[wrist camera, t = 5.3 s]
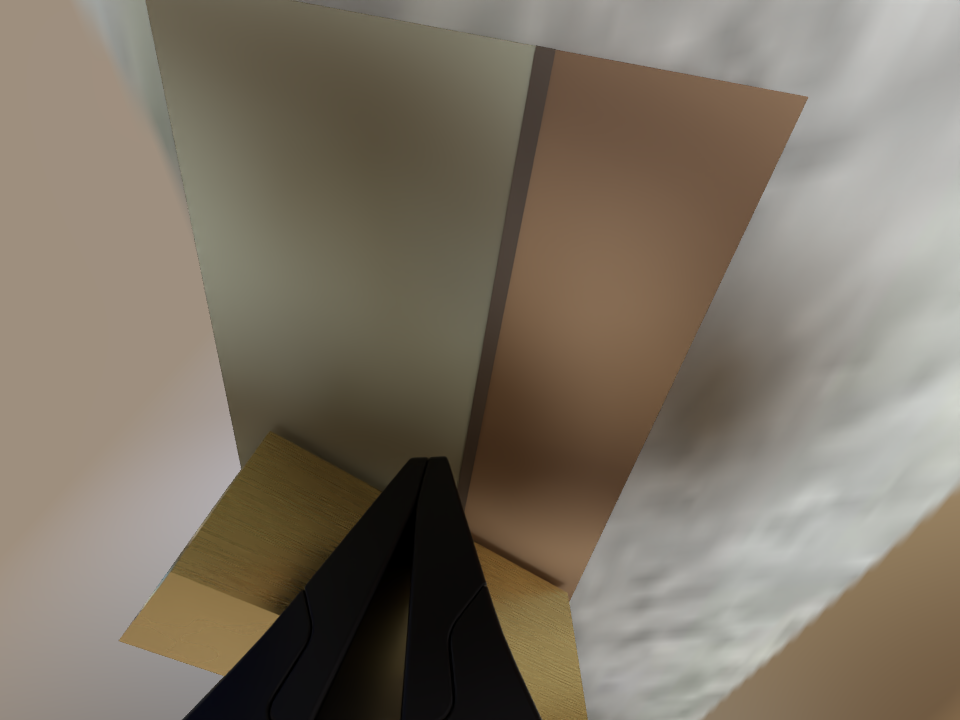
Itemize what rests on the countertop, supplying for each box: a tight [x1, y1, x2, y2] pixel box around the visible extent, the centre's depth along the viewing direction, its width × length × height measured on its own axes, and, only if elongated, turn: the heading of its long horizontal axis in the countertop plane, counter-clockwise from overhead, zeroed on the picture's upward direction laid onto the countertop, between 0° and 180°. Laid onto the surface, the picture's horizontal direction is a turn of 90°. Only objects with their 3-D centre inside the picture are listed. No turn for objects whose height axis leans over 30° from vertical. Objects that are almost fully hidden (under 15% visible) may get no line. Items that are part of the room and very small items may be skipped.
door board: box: [146, 0, 808, 601], centre depth 11 cm, size 18×10×1 cm, turn 171°
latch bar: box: [119, 431, 588, 720], centre depth 10 cm, size 10×3×4 cm, turn 50°
